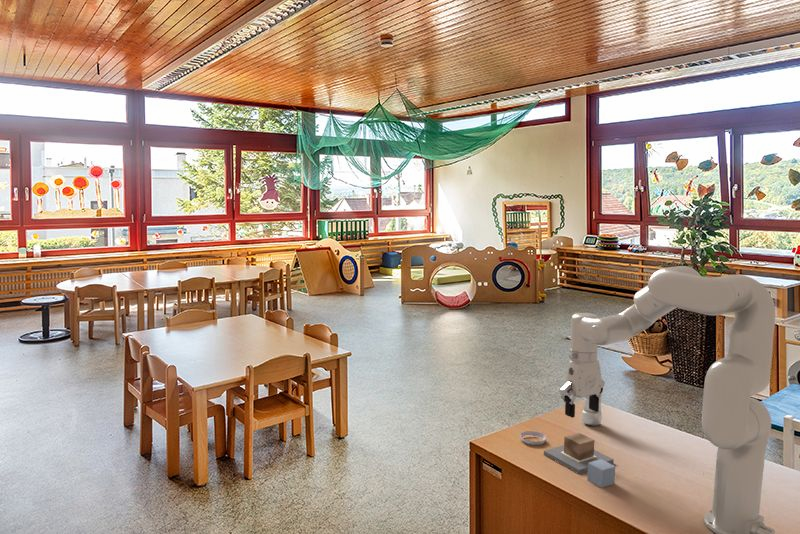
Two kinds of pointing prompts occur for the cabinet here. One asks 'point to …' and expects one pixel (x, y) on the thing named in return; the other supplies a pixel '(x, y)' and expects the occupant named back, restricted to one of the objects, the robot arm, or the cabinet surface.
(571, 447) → the walnut block
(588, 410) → the plastic bottle
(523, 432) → the lavender ring
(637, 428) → the cabinet surface
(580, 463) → the building board
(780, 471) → the cabinet surface
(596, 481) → the slate blue cube
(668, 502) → the cabinet surface
